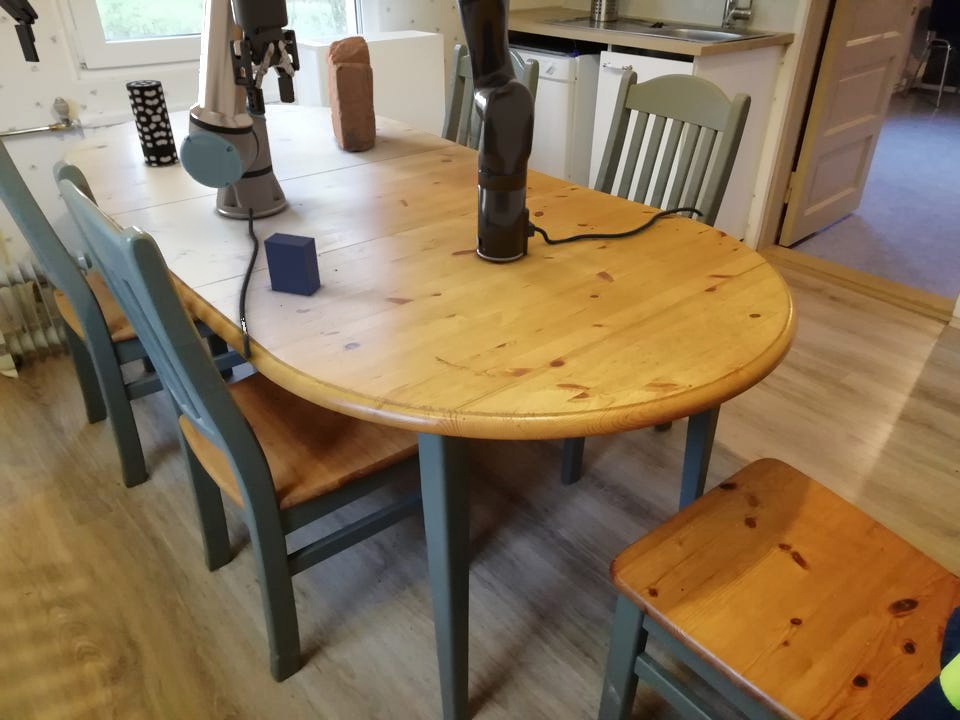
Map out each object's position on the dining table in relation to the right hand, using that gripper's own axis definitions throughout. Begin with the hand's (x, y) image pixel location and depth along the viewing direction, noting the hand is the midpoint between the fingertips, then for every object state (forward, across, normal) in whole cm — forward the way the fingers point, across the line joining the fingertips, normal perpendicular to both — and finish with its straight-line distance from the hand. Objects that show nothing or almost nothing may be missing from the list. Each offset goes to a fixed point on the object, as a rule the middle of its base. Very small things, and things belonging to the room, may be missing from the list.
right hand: (273, 108), depth 107 cm
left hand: (0, -10, -64) cm, 65 cm away
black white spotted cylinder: (+22, -56, -74) cm, 95 cm away
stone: (+31, -91, -33) cm, 102 cm away
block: (+32, -1, -1) cm, 32 cm away
